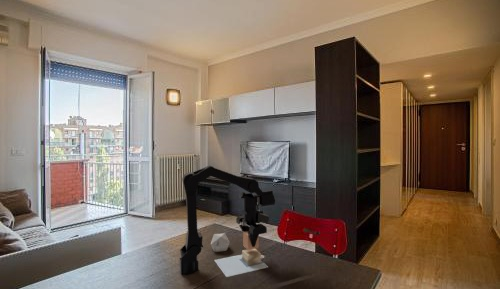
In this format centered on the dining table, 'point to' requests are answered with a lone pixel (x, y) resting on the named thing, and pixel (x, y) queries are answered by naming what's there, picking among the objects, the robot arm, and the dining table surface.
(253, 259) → the birch base block
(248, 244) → the terracotta block
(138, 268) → the dining table surface
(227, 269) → the blueprint board
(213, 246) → the die
